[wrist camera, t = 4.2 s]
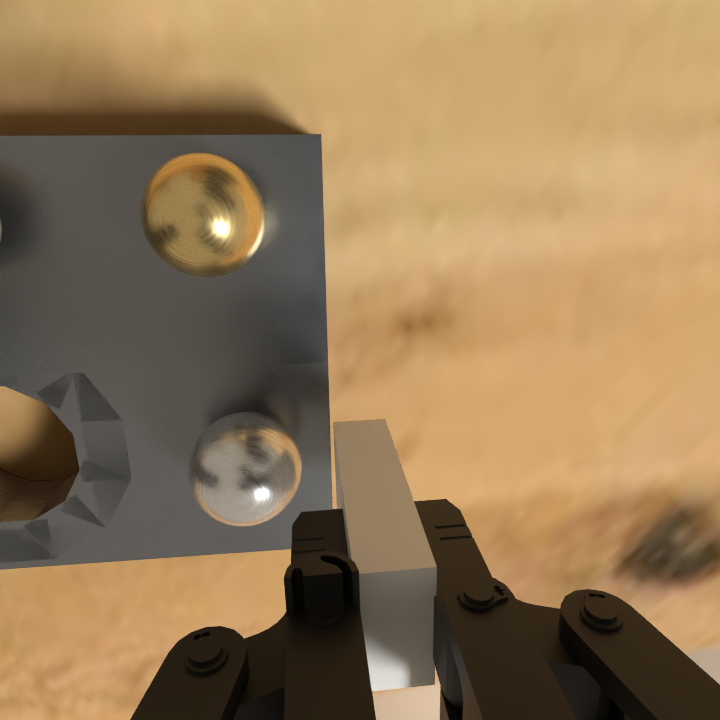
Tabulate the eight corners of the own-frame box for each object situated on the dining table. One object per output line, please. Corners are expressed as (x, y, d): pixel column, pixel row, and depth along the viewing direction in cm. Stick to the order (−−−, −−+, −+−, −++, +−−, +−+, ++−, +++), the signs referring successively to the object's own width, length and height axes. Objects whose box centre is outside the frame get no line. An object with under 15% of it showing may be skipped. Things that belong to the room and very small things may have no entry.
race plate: (-169, 142, 16) (-250, 136, 14) (318, 140, 17) (321, 134, 15) (-60, 530, 20) (-108, 577, 18) (330, 505, 21) (333, 546, 19)
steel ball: (193, 398, 17) (169, 446, 14) (299, 393, 17) (299, 438, 14) (203, 491, 18) (183, 554, 15) (303, 484, 18) (304, 546, 15)
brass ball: (150, 155, 15) (114, 150, 12) (265, 154, 15) (257, 149, 12) (164, 269, 16) (133, 289, 13) (272, 266, 16) (266, 285, 13)
